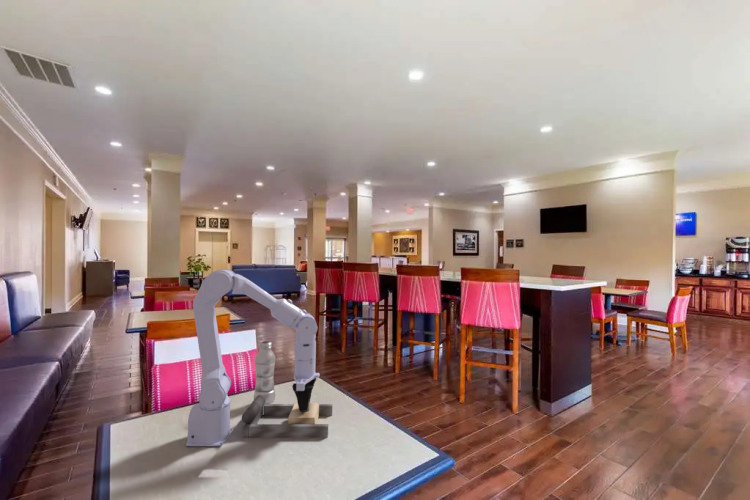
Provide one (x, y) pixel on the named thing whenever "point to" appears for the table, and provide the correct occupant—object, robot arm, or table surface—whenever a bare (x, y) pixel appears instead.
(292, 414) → the tan wooden block
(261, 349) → the plastic bottle
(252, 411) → the bay
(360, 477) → the table surface
